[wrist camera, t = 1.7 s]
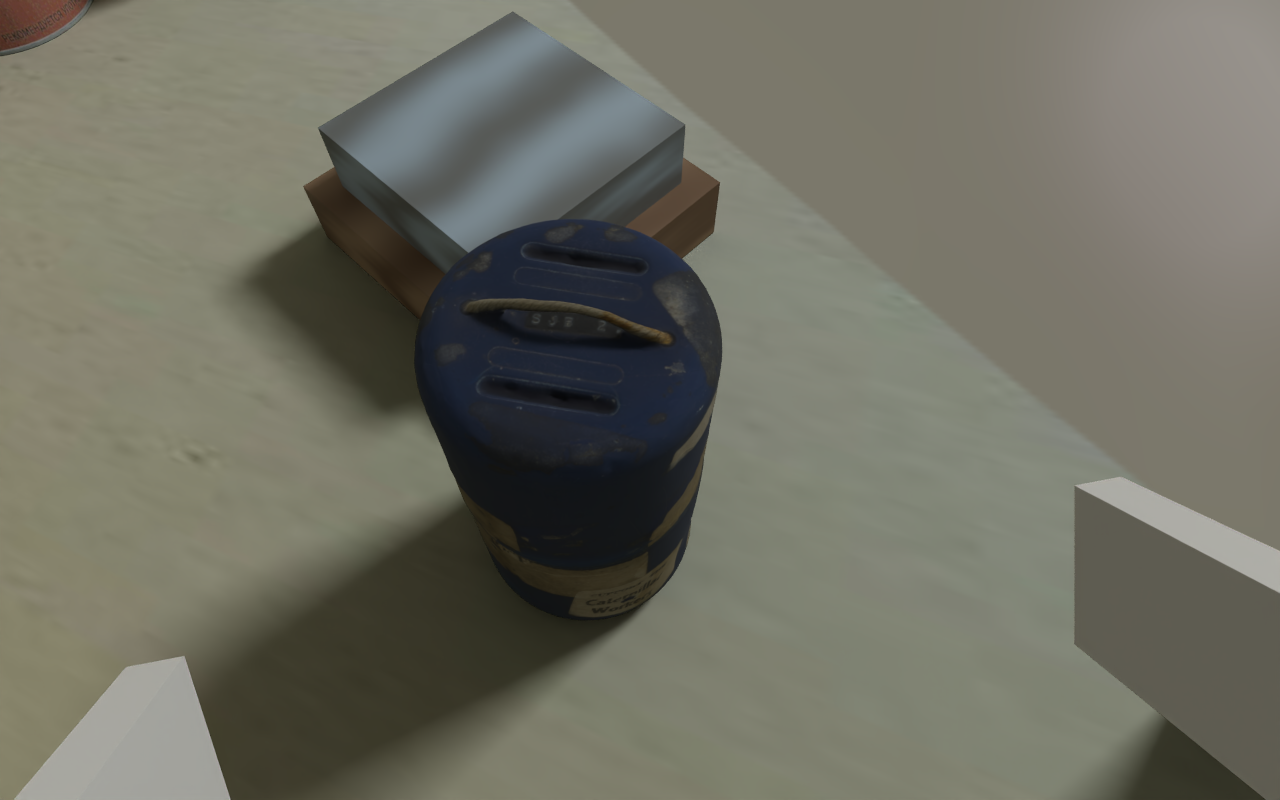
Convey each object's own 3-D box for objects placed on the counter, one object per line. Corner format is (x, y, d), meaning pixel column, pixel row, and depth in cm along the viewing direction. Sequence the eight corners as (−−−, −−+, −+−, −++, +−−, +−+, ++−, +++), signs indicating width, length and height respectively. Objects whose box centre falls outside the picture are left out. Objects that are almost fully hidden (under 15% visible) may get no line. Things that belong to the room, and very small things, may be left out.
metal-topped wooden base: (327, 236, 48) (274, 128, 41) (530, 102, 53) (514, -12, 46) (509, 401, 42) (485, 308, 35) (713, 232, 48) (727, 124, 41)
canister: (549, 412, 42) (499, 140, 26) (720, 483, 40) (778, 234, 24) (451, 578, 37) (323, 369, 22) (640, 666, 35) (646, 506, 20)
